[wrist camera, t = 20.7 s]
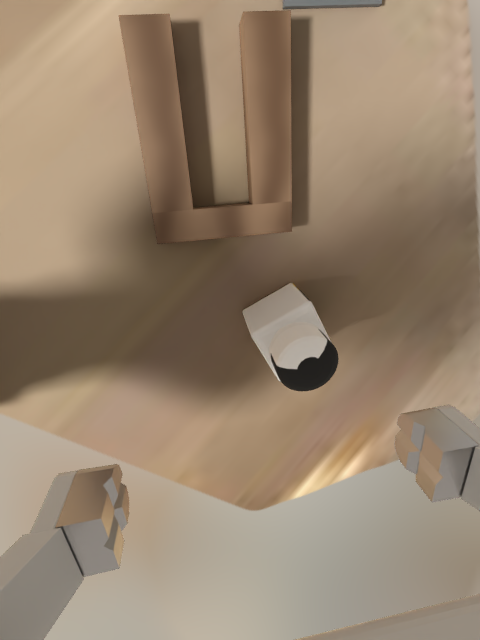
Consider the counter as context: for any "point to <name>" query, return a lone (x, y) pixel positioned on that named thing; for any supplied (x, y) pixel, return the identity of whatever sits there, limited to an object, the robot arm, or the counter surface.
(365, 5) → the slate mat
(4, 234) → the counter surface
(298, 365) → the white black angular body
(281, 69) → the channel board
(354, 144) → the counter surface
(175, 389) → the counter surface
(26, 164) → the counter surface
